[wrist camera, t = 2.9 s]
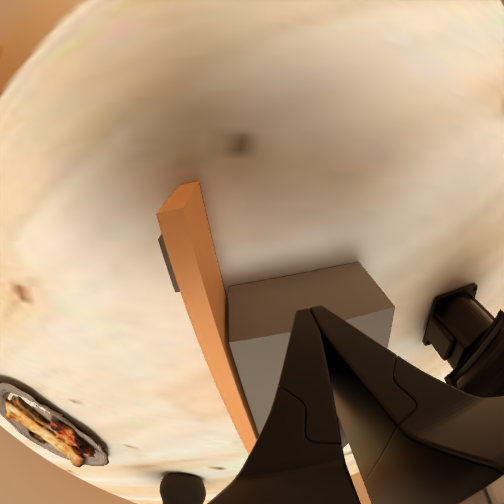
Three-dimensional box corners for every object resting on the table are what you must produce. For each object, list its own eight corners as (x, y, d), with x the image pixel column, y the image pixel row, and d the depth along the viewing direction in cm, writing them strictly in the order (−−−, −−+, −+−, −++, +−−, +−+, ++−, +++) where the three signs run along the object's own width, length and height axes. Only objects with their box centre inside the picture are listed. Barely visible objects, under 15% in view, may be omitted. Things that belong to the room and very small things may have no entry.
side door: (198, 181, 17) (182, 207, 11) (261, 420, 28) (266, 464, 23) (170, 187, 17) (143, 216, 11) (245, 422, 28) (248, 466, 23)
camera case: (358, 261, 21) (410, 326, 13) (347, 396, 28) (367, 451, 21) (228, 286, 21) (229, 368, 13) (262, 414, 28) (269, 474, 21)
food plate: (133, 450, 32) (129, 467, 29) (84, 462, 38) (80, 475, 35) (-2, 353, 24) (-13, 369, 21) (-12, 393, 30) (-18, 405, 26)
